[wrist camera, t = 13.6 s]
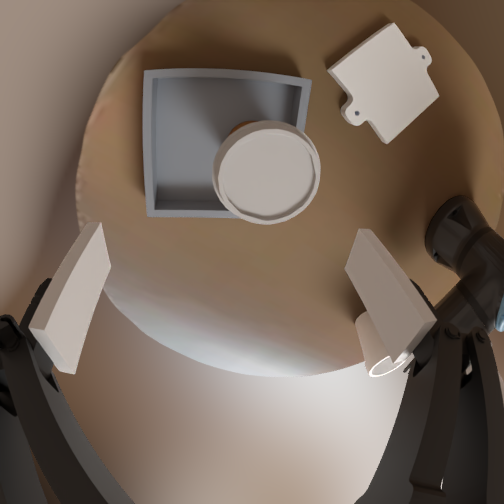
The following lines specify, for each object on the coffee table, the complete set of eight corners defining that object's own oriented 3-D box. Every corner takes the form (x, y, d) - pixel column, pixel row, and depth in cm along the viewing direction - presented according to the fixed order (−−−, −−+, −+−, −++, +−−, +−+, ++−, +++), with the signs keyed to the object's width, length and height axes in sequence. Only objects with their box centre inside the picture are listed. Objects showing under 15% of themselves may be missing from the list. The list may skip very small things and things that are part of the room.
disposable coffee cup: (196, 141, 30) (187, 175, 21) (258, 92, 27) (283, 99, 18) (245, 194, 35) (259, 247, 26) (304, 151, 33) (343, 187, 23)
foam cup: (341, 323, 56) (361, 372, 46) (374, 298, 53) (400, 346, 43) (360, 335, 61) (379, 379, 50) (390, 313, 57) (414, 356, 47)
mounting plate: (396, 17, 22) (404, 16, 20) (439, 86, 28) (447, 88, 26) (311, 81, 28) (317, 82, 27) (368, 151, 34) (375, 155, 33)
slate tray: (302, 79, 28) (311, 80, 25) (282, 207, 38) (288, 219, 35) (151, 71, 25) (144, 70, 22) (152, 204, 35) (147, 217, 32)
